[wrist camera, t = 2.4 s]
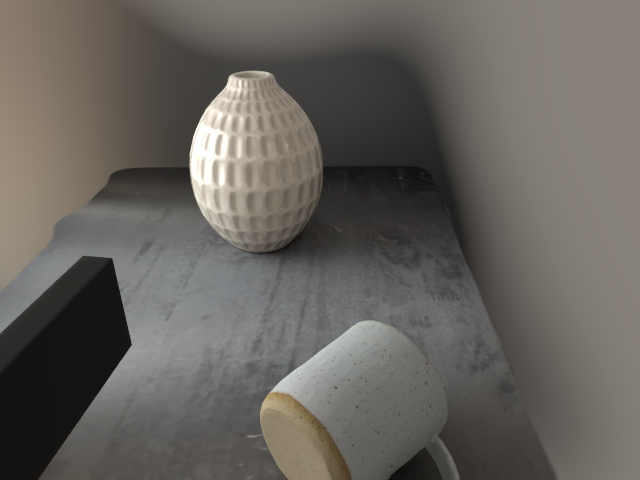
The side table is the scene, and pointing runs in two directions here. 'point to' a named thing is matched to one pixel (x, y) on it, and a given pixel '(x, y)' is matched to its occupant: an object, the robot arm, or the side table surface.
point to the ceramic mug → (358, 409)
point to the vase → (256, 164)
